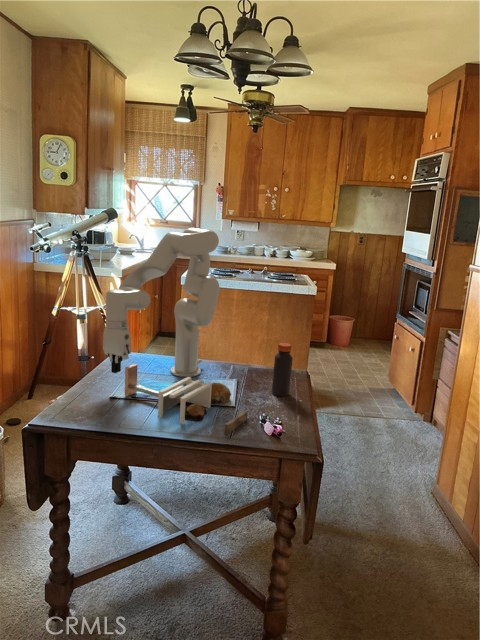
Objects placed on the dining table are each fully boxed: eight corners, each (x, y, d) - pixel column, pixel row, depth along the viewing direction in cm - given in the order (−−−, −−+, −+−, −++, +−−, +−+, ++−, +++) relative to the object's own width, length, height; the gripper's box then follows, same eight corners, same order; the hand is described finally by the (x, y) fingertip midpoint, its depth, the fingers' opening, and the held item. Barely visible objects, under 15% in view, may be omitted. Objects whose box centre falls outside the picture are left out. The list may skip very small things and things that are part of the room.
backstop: (243, 418, 161) (244, 410, 161) (246, 419, 161) (247, 411, 160) (224, 433, 150) (224, 424, 149) (227, 434, 150) (228, 425, 149)
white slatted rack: (187, 400, 173) (188, 376, 171) (210, 407, 168) (211, 383, 166) (157, 416, 158) (158, 391, 156) (182, 424, 154) (183, 398, 152)
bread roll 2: (231, 408, 177) (237, 387, 179) (221, 406, 168) (226, 384, 169) (208, 402, 181) (214, 382, 183) (196, 399, 172) (202, 378, 173)
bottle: (292, 394, 186) (297, 345, 181) (281, 398, 181) (286, 348, 176) (278, 388, 190) (283, 340, 185) (268, 392, 185) (272, 343, 180)
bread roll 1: (184, 408, 167) (185, 398, 167) (208, 410, 167) (208, 401, 166) (177, 421, 157) (178, 410, 156) (203, 423, 156) (203, 413, 156)
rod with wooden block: (140, 388, 180) (141, 361, 177) (183, 401, 171) (185, 373, 168) (116, 398, 169) (117, 370, 166) (161, 413, 160) (162, 383, 157)
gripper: (139, 325, 171) (138, 373, 175) (108, 318, 178) (108, 364, 182) (125, 329, 165) (124, 379, 169) (93, 322, 171) (93, 370, 176)
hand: (116, 371), depth 176 cm, fingers closed
